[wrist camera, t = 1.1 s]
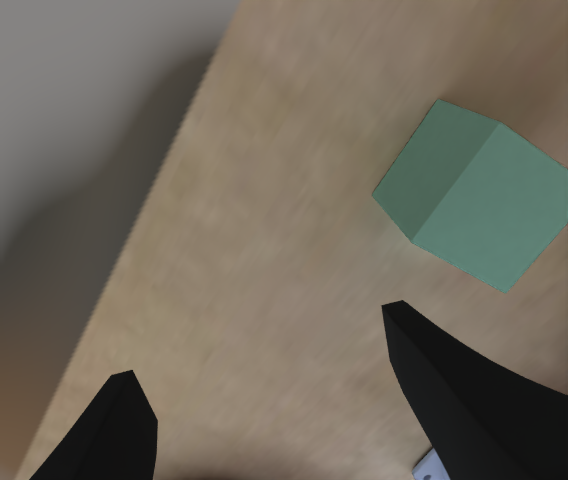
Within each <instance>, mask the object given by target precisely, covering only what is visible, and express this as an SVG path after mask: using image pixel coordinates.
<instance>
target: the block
mask: <svg viewBox="0 0 568 480" xmlns="http://www.w3.org/2000/svg"><path fill="white" fill-rule="evenodd" d="M372 196H373V197H374V199H375V200H376V201H377V202H378V203H379V205H380V206H381V207H382V208H383V209H384V211H385V212H386V213H387V214H388V215H389V217H390V218H391V219H392V220H393V221H394V222H395V224H396V225H397V226H398V227H399V228H400V230H401V231H402V232H403V233H404V234H405V236H406V237H407V238H408V239H409V240H410V242H412V243H413V244H415V245H417V246H419V247H421V248H423V249H424V250H426V251H428V252H430V253H432V254H434V255H435V256H437V257H439V258H441V259H443V260H445V261H446V262H448V263H450V264H452V265H454V266H456V267H457V268H459V269H461V270H463V271H465V272H467V273H468V274H470V275H472V276H474V277H476V278H478V279H479V280H481V281H483V282H485V283H487V284H489V285H490V286H492V287H494V288H496V289H498V290H500V291H501V292H503V293H507V292H508V291H509V289H510V288H511V287H512V286H513V285H514V284H515V283H516V281H517V280H518V279H519V278H520V277H521V276H522V275H523V273H524V272H525V271H526V270H527V269H528V268H529V267H530V265H531V264H532V263H533V262H534V261H535V260H536V259H537V257H538V256H539V255H540V254H541V253H542V252H543V251H544V249H545V248H546V247H547V246H548V245H549V244H550V243H551V241H552V240H553V239H554V238H555V237H556V236H557V235H558V233H559V232H560V231H561V230H562V229H563V228H564V227H565V225H566V224H567V223H568V169H566V168H565V167H564V166H562V165H561V164H559V163H558V162H557V161H555V160H554V159H552V158H551V157H550V156H548V155H547V154H545V153H544V152H543V151H541V150H540V149H538V148H537V147H535V146H534V145H533V144H531V143H530V142H528V141H527V140H526V139H524V138H523V137H521V136H520V135H519V134H517V133H516V132H514V131H513V130H512V129H510V128H509V127H507V126H506V125H505V124H503V123H502V122H499V121H497V120H494V119H491V118H489V117H486V116H483V115H481V114H478V113H475V112H473V111H470V110H467V109H465V108H462V107H459V106H456V105H454V104H451V103H448V102H446V101H443V100H440V99H438V100H437V101H436V102H435V104H434V105H433V107H432V108H431V110H430V111H429V112H428V114H427V115H426V117H425V118H424V120H423V121H422V123H421V124H420V126H419V127H418V128H417V130H416V131H415V133H414V134H413V136H412V137H411V139H410V140H409V142H408V143H407V144H406V146H405V147H404V149H403V150H402V152H401V153H400V155H399V156H398V157H397V159H396V160H395V162H394V163H393V165H392V166H391V168H390V169H389V171H388V172H387V173H386V175H385V176H384V178H383V179H382V181H381V182H380V184H379V185H378V187H377V188H376V189H375V191H374V192H373V194H372Z"/></svg>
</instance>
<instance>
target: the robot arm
mask: <svg viewBox="0 0 568 480" xmlns="http://www.w3.org/2000/svg"><path fill="white" fill-rule="evenodd" d="M381 306H382V313H383V319H384V326H385V332H386V339H387V345H388V352H389V358H390V362H391V365H392V367H393V370H394V372H395V375H396V377H397V379H398V382H399V384H400V387H401V389H402V391H403V393H404V395H405V397H406V399H407V401H408V403H409V404H410V406H411V408H412V410H413V412H414V413H415V415H416V417H417V419H418V421H419V423H420V424H421V426H422V428H423V430H424V432H425V433H426V435H427V437H428V439H429V440H430V442H431V444H432V446H433V449H432V450H431V451H430V452H429V453H428V454H427V455H426V456H425V457H424V458H423V459H422V460H421V461H420V462H419V464H418V465H417V466H416V467H415V468H414V469H413V471H412V474H413V477H414V479H416V480H568V395H565V394H563V393H560V392H558V391H555V390H553V389H550V388H548V387H546V386H543V385H541V384H538V383H536V382H534V381H531V380H529V379H527V378H525V377H523V376H521V375H519V374H517V373H515V372H513V371H510V370H508V369H506V368H504V367H502V366H500V365H499V364H497V363H495V362H493V361H491V360H490V359H488V358H486V357H484V356H483V355H481V354H479V353H478V352H476V351H474V350H473V349H471V348H469V347H468V346H466V345H465V344H463V343H462V342H460V341H459V340H457V339H456V338H454V337H453V336H451V335H450V334H448V333H447V332H445V331H444V330H442V329H441V328H440V327H438V326H437V325H435V324H434V323H433V322H431V321H430V320H429V319H427V318H426V317H425V316H423V315H422V314H421V313H419V312H418V311H417V310H415V309H414V308H413V307H412V306H410V305H409V304H408V303H406V302H405V301H403V300H401V301H397V302H393V303H389V304H385V305H381ZM157 429H158V420H157V418H156V416H155V414H154V412H153V410H152V408H151V406H150V404H149V402H148V400H147V398H146V396H145V394H144V392H143V390H142V388H141V386H140V384H139V382H138V380H137V378H136V376H135V374H134V372H133V370H129V371H126V372H122V373H118V374H114V375H111V376H110V378H109V379H108V380H107V381H106V383H105V384H104V385H103V386H102V388H101V389H100V390H99V392H98V393H97V395H96V396H95V397H94V399H93V400H92V401H91V403H90V404H89V405H88V407H87V408H86V409H85V411H84V412H83V413H82V415H81V416H80V417H79V419H78V420H77V421H76V423H75V424H74V425H73V427H72V428H71V429H70V431H69V432H68V433H67V435H66V436H65V437H64V438H63V440H62V441H61V442H60V443H59V445H58V446H57V447H56V448H55V449H54V451H53V452H52V453H51V454H50V455H49V457H48V458H47V459H46V460H45V462H44V463H43V464H42V465H41V466H40V468H39V469H38V470H37V471H36V472H35V474H34V475H33V476H32V477H31V478H30V479H29V480H153V474H154V468H155V462H156V454H157Z"/></svg>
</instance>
